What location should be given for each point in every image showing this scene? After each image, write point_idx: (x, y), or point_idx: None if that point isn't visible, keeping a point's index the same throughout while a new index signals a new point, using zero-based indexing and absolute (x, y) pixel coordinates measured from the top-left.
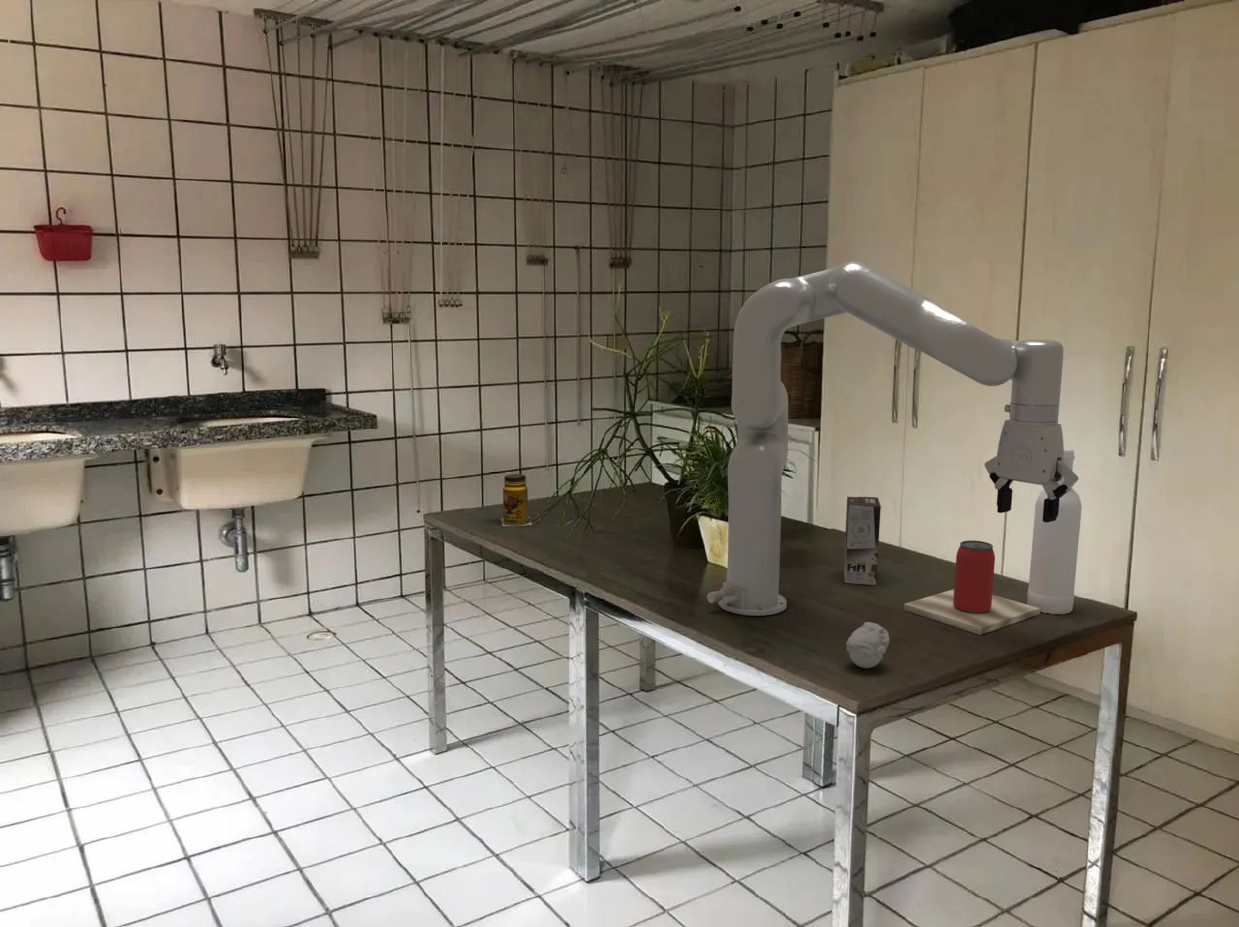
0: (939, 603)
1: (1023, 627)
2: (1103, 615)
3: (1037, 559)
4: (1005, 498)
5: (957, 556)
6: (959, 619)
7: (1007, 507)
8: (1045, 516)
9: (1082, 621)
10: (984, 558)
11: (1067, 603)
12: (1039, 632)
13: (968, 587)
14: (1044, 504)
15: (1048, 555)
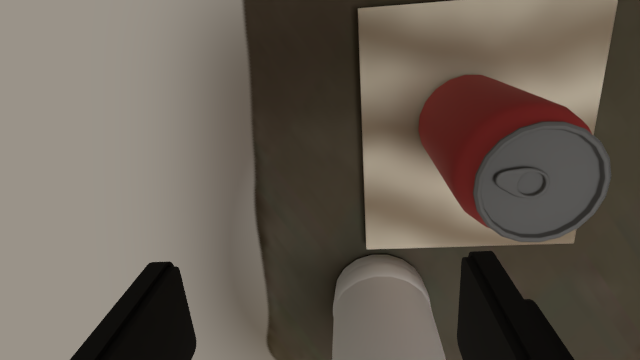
0: (545, 80)
1: (334, 146)
2: (293, 329)
3: (405, 338)
4: (490, 352)
5: (570, 110)
6: (434, 17)
7: (465, 326)
8: (139, 278)
9: (292, 273)
10: (465, 144)
11: (334, 298)
12: (294, 147)
13: (471, 87)
14: (109, 335)
15: (374, 354)
